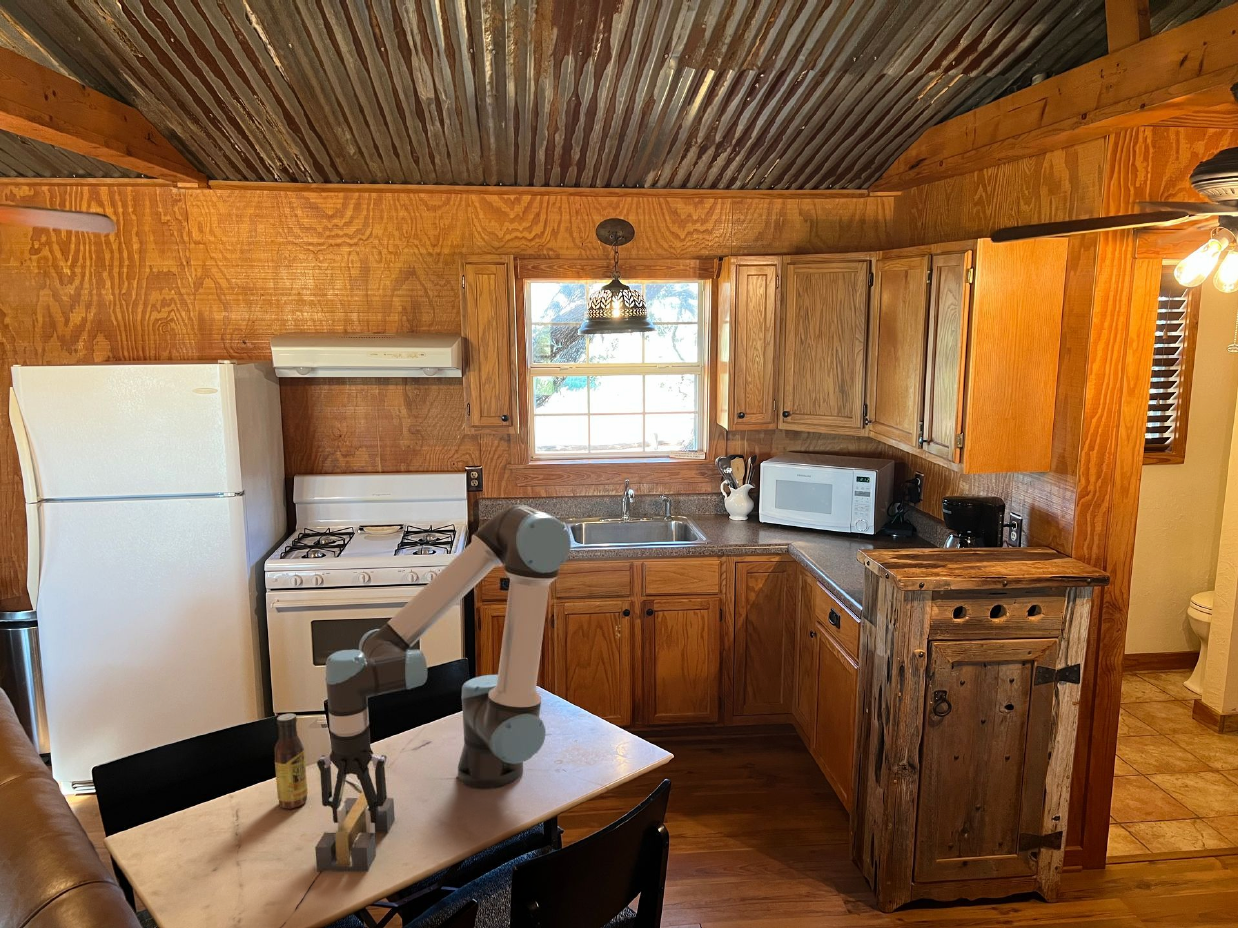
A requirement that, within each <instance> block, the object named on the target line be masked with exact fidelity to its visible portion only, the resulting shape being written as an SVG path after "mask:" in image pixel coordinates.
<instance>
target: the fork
mask: <svg viewBox="0 0 1238 928" xmlns="http://www.w3.org/2000/svg"><path fill="white" fill-rule="evenodd" d="M337 773H338V770H337V771H335V775H336V776H337ZM345 782H349V783H351V784H352V785H355V786H357V787H358V788H359V789H360V791H361V792H363V789H362V786H361V783H360V782H359V783H358V782H356V781H355V780H354V779H353V778H351V777H349V776H348V775H347V776H346V781H345ZM376 795H377V793H376Z"/></svg>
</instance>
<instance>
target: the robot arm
mask: <svg viewBox="0 0 1238 928" xmlns="http://www.w3.org/2000/svg"><path fill="white" fill-rule="evenodd" d="M571 545H572V542H571V536H570V533H569V531H568V528H567V527H566V526H565V525H564V523H563V522H562V521H560V520H559V519H557V517H555V516H553V514H550V513H547V512H544V511H541V510H538V509H536V508H534V507H531V506H529V505H525V504H514V505H511V506H508V507H505V508H504V509H501V511H499V512H497V513H496V514H495V515H493V516H492V517H491V518H490V519H488V520H487V521H486V522H485V523H484V524H483V525H481V527H480V528H478V530H477V531H475V532H474V533H473V534H472V535H471V542H470V543H469V544H468V545H467V546H466V547H465V548H464V549H463V550H462V551H461V552H460V553H459V554H458V555H456V556H455V558H454V559H453V560H451V562H449V563H448V564H447V565H446V566H445V567H444V568H443V569H442V570H441V571H440V572H439V573H438V574H437V575H436V576H435V577H433V578H432V579H431V581H429V582H428V583H427V584H426V585H425V586H424V587H423V588H422V589H421V590H420V591H419V592H418V593H417V594H416V595H415V596H414V597H413V598H411V599H410V600H409V601H408V602H407V603H406V604H405V605H404V606H403V607H402V608H401V609H400V610H399V611H398V612H397V613H396V614H395V615H394V616H393V617H391V618H390V620H388V621H387V622H386V623H385V624H384V625H382V627H381V628H376V629H372V630H369V631H367V632H366V633H364V634H363V636H362V637H361V639H360V640H359V644H358V649H343V650H339V651H338V650H337V651H335V652H333V653H332V654H330V655H329V656H328V657H327V659H326V661H325V682H326V683H325V684H326V696H327V705H328V724H329V731H330V733H329V734H330V735H329V738H330V749H331V751H330V754H328V755H325V754H322V755H321V756H320V757H319V758H318V760H317V761H316V765H317V767H318V769H319V772H320V773H319V774H320V788H321V790H320V791H321V805H322V807H330V808H331V810H332V822H333V824H337V829H339V828H340V826H341V825H342V823H343V821H344V820H345V818H346V807H345V803H344V802H342V801H343V794H344V789H345V784H346V782H347V781H346V776H348V775H356V777H357V780H358V781H359V784H360V785H361V786H362V789H363V792H364V795H365V798H366V801H367V803H368V807H367V808H366V810H365V814H366V829H367V833H375V824H374V823H376V821H377V820H378V817H379V815H378V806H380V807H381V806H383V804H384V803H385V801H386V799H387V798H388V796H387V793H388V792H387V784H386V783H387V782H386V771H385V770H386V769H385V766H386V762H387V756H386V755H385V754H382V755H377V754H374V751H373V750H372V748H371V734H370V733H371V732H370V726H369V725H370V721H369V720H370V719H369V703H368V698H370V697H375V696H379V695H385V694H390V693H395V692H399V691H405V690H411V689H415V688H417V687H420V686H423V685H424V684H425V683H426V682H427V679H428V667H427V666H428V665H427V661H426V660H427V659H426V657H425V655H424V652H423V651H422V650H421V649H417V648H416V649H411V648H412V647H413V646H414V645H415V644H416V642H418V641H419V640H420V639H422V638H423V636H424V635H425V634H426V633H427V632H429V631H430V629H431V628H433V627H434V625H436V624H437V623H438V622H439V621H440V619H442V618H443V617H444V616H445V615H446V614H447V613H448V612H449V611H451V610H452V608H454V606H456V604H457V603H458V602H459V601H461V600H462V598H464V597H465V596H466V595H467V594H468V593H469V592H470V591H471V590H472V589H473V588H474V587H475V586H476V585H477V584H479V582H481V580H483V579H484V578H485V577H486V576H487V575H488V573H491V571H492V570H493V569H494V568H496V567H497V568H498V567H503V566H504V570H503V571H504V573H505V574H506V576H507V577H508V579H509V587H508V594H507V600H506V610H505V617H504V626H503V633H502V640H501V649H500V656H499V657H500V658H499V664H498V672H497V674H486V675H481V676H476V677H473V678H471V679H469V680H466V681H465V682H464V683H463V685H462V686H461V697H460V699H461V705H462V706H461V708H462V724H463V725H462V726H463V747H462V750H461V754H460V756H459V757H460V758H459V761H458V765H457V776H458V779H459V782H461V783H462V784H463V785H465V786H467V787H470V788H473V789H480V790H481V789H482V790H483V789H484V790H486V789H487V790H489V789H491V790H492V789H497V788H502V787H506V786H508V785H511V784H512V783H514V782H516V781H517V780H519V779H520V778H521V776H522V775H523V773H524V763H525V762H526V761H528V760H530V759H532V758H533V756H535V755H536V754H537V753H539V751H540V750H541V748H542V746H543V745H544V743H545V740H546V736H547V735H546V734H547V733H546V732H547V731H546V727H545V724H544V722H543V720H542V719H541V718H540V714H541V706H542V705H541V704H542V696H541V695H540V694H539V692H538V691H537V683H538V682H537V681H538V676H539V667H540V660H541V652H542V643H543V635H544V629H545V623H546V622H545V621H546V614H547V607H548V601H549V599H548V598H549V593H550V592H549V591H550V584H551V583H552V582H554V581H555V580H556V579H558V576H559V570H560V568H561V567H562V565H563V564H564V563H566V561H567V559H568V558H569V555H570V553H571V552H570V551H571ZM371 762H372V766H373V768H374V778H375V779H374V780H375V786H374V784H373V781H372V778H371V775H370V768H369V764H370V763H371ZM332 764H333V765H334V767H336V768H337V771H338V773H337V775H336V782H335V785H334V786H335V787H334V791H333V786H332V783H333V782H332V769H331V766H332ZM376 794H377V795H376ZM375 834H376V833H375Z"/></svg>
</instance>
